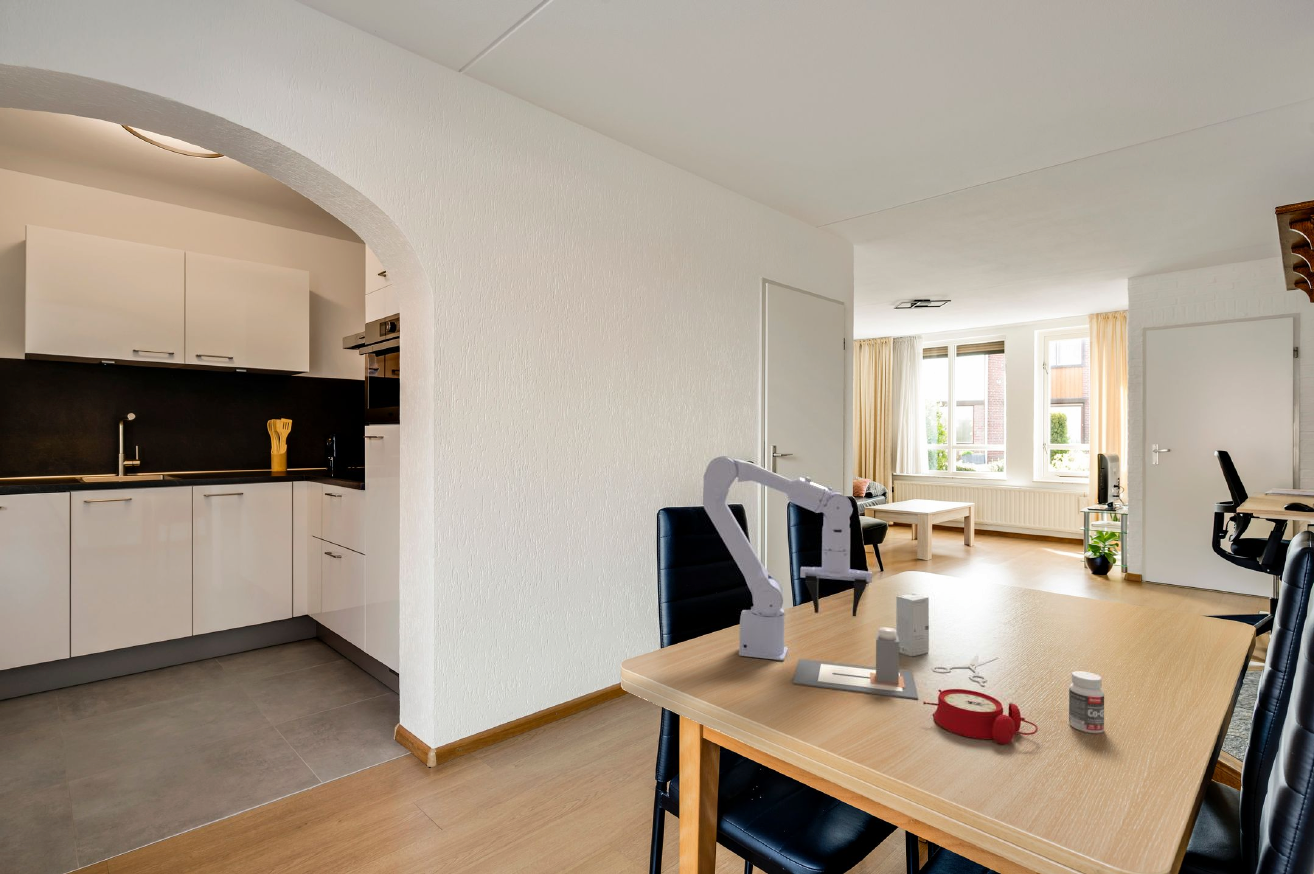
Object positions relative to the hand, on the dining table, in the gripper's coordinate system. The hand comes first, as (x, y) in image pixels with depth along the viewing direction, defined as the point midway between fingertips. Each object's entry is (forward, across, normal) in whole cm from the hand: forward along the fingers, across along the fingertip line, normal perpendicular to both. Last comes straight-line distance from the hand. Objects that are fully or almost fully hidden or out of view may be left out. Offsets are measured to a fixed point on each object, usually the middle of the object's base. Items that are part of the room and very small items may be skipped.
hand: (835, 613), depth 136 cm
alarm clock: (+10, +24, -27) cm, 37 cm away
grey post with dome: (+9, +10, -11) cm, 17 cm away
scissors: (+10, +27, +4) cm, 29 cm away
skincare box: (+10, +16, +10) cm, 21 cm away
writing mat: (+9, +4, -11) cm, 15 cm away
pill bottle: (+10, +40, -21) cm, 46 cm away
